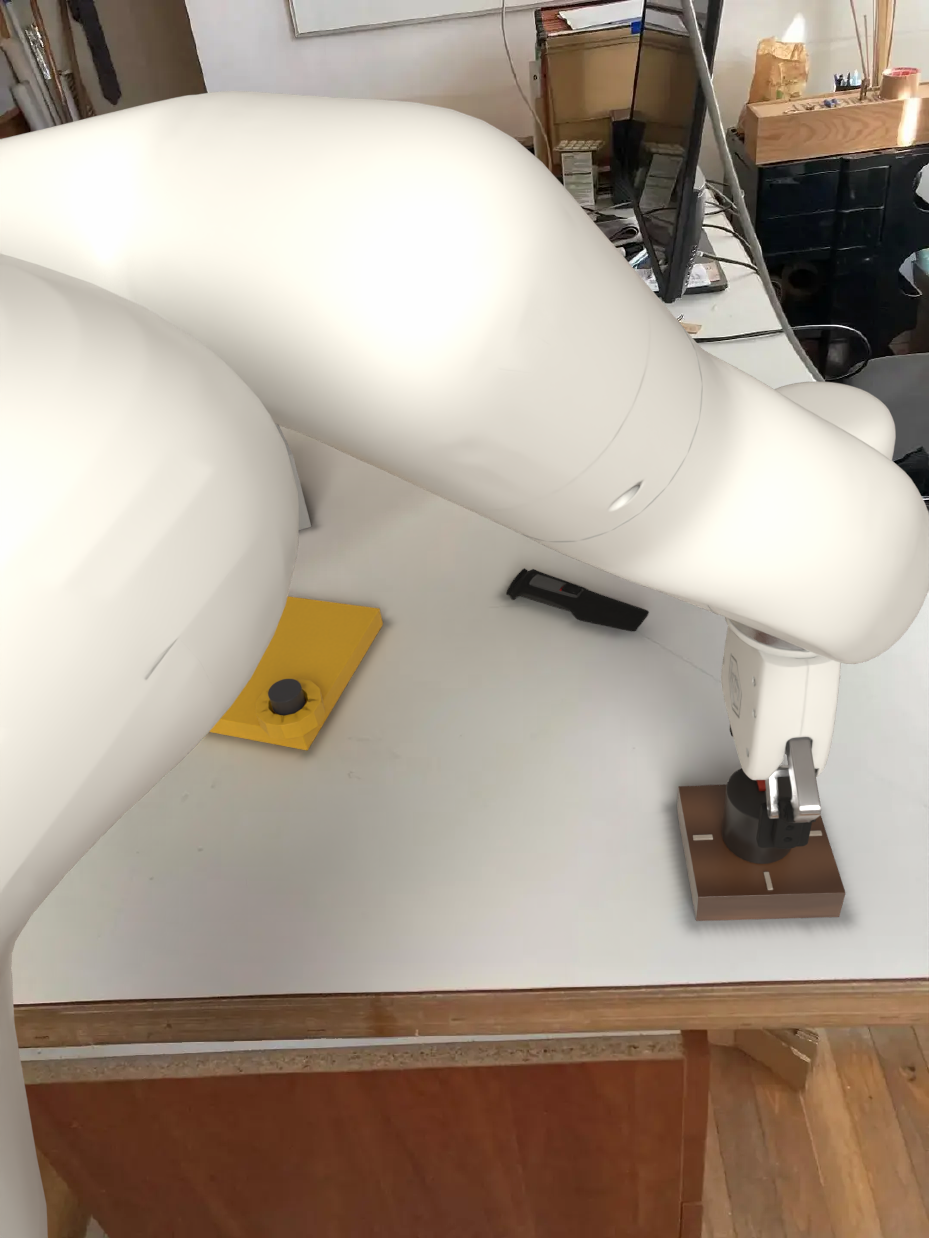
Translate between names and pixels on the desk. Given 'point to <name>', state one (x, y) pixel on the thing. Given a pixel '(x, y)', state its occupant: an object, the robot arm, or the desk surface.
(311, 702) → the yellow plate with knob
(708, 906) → the dial panel
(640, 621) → the electric trimmer
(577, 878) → the desk surface
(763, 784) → the dial knob
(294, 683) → the black cylindrical knob
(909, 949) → the desk surface
